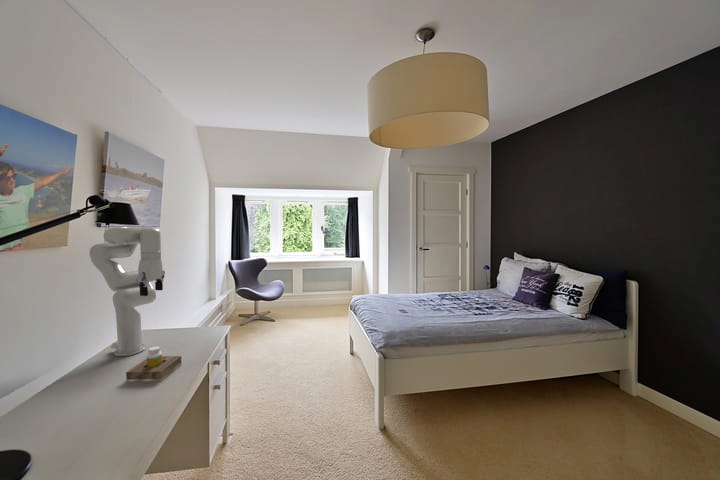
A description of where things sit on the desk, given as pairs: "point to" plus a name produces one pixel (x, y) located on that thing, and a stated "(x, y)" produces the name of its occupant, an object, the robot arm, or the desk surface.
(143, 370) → the socket block
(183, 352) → the desk surface
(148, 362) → the supplement bottle
